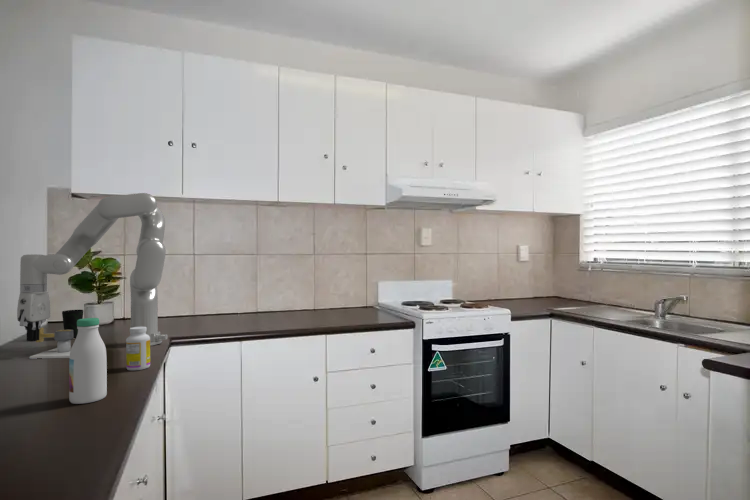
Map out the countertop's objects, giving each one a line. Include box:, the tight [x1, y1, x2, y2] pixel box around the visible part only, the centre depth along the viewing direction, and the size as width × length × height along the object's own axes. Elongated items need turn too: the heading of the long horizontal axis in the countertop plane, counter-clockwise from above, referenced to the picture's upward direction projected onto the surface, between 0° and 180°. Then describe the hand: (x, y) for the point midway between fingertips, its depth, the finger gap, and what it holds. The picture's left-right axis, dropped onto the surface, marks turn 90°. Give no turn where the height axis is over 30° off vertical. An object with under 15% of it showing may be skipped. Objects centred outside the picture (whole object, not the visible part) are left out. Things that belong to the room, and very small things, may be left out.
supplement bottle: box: [125, 327, 151, 371], centre depth 133 cm, size 7×7×13 cm
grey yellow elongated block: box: [35, 327, 74, 343], centre depth 154 cm, size 12×6×5 cm, turn 93°
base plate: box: [29, 339, 72, 360], centre depth 154 cm, size 14×14×5 cm
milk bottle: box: [68, 317, 108, 405], centre depth 104 cm, size 8×8×20 cm
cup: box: [61, 309, 84, 338], centre depth 183 cm, size 8×8×12 cm
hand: (32, 340), depth 149 cm, fingers closed
